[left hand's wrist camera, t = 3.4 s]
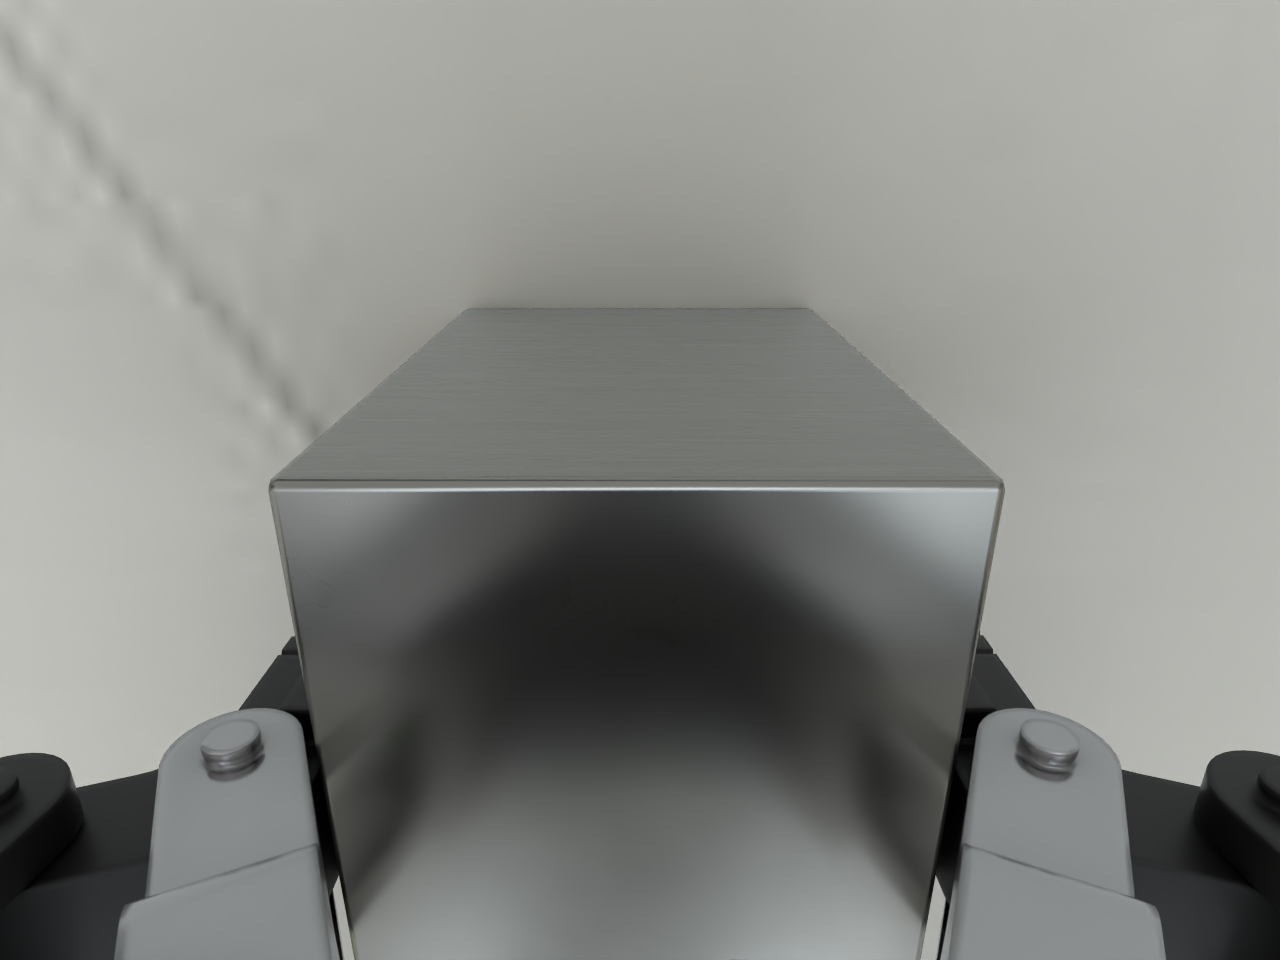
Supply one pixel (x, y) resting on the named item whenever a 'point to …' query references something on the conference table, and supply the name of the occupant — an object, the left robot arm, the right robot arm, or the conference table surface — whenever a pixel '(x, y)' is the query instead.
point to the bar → (637, 640)
